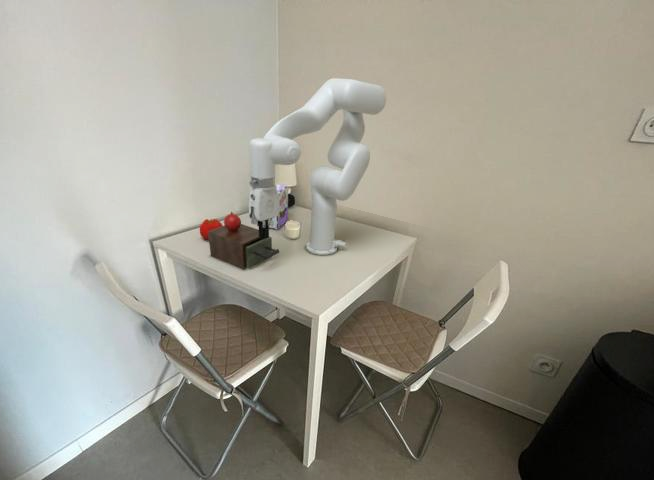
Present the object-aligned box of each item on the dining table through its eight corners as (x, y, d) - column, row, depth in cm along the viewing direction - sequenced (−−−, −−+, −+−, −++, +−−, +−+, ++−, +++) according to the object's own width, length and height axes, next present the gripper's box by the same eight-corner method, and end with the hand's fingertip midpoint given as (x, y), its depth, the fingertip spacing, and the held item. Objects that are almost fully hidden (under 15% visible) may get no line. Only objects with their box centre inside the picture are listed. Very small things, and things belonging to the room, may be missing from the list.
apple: (242, 227, 128) (241, 209, 124) (240, 233, 123) (238, 215, 119) (226, 226, 128) (224, 208, 124) (223, 233, 122) (221, 214, 119)
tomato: (219, 233, 147) (218, 216, 143) (227, 240, 141) (225, 223, 137) (197, 236, 142) (195, 219, 138) (204, 244, 136) (201, 226, 132)
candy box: (277, 230, 153) (277, 193, 144) (265, 228, 155) (264, 191, 146) (288, 220, 165) (288, 185, 156) (276, 218, 166) (276, 183, 157)
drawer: (284, 261, 126) (284, 241, 122) (261, 273, 117) (260, 252, 113) (241, 245, 135) (240, 226, 131) (218, 255, 127) (215, 235, 122)
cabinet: (268, 257, 130) (268, 232, 125) (243, 269, 121) (241, 244, 116) (236, 245, 138) (234, 221, 133) (210, 256, 128) (207, 231, 123)
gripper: (255, 189, 101) (257, 246, 110) (287, 180, 111) (286, 234, 121) (236, 183, 104) (240, 240, 114) (269, 176, 115) (270, 228, 124)
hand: (263, 237), depth 117 cm, fingers closed
